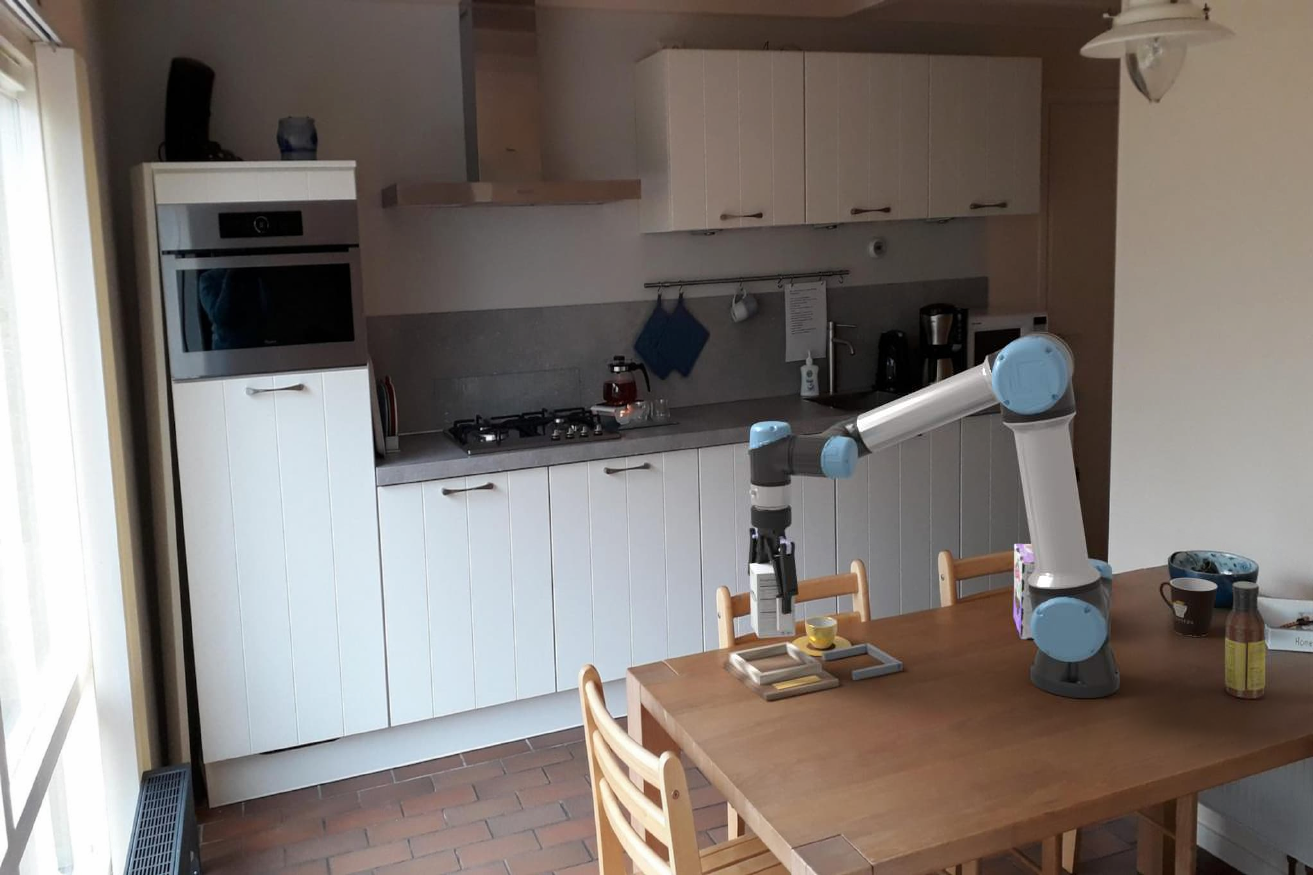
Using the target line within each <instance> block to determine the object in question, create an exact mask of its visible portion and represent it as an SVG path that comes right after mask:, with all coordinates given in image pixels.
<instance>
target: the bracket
mask: <svg viewBox="0 0 1313 875" xmlns="http://www.w3.org/2000/svg"><path fill="white" fill-rule="evenodd" d="M834 649H835V648H834ZM862 654H868V655H869V656H871V657H873V658H875V659H877V660H878V661H880V662H882V663H883V664H879V665H874V666H869V667H864V668H859V669H855V670H851V679H852V680H854V681H858V680H862V679H867V678H873V677H878V676H882V675H883V676H884V675H887V674H891V673H898V672H901V671H903V669H904V668H903V662H902V661H900V660H898V659H896V658H895V657H893V656H891V655H890V654H888V653H886V652H884V651H883V650H881V649H879V648H877V647H876V646H874V645H872V644H870V643H869V642H866V643H862V644H857V645H856V644H855V645H851V646H850V647H845V648H840V649H835V650H833V649H831V650H824V652H822V656H821V660H822V661H824V662H827V661H831V660H832V661H833V660H836V659H840V658H841V659H842V658H846V657H852V656H857V655H862Z"/></svg>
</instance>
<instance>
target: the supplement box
mask: <svg viewBox="0 0 1313 875" xmlns="http://www.w3.org/2000/svg"><path fill="white" fill-rule="evenodd" d="M749 590H750V591H749V593H750V594H749V596H750V598H749V600H750V626H751V627H752V629H753V631H754V632H755V634H756V637H757V638H758V639H767V638H770V639H771V638H785V637H787V638H788V637H794V636H796V598H795V597H796V595H795V596H792V597H791V610H792V629H787V630H782V631H778V630H777V603H776V595H779V592H778V588H777V583H776V578H775V573H774V569H773V564H772V562H771V561H770V562H768V563H762V564H758V563H752V564H750V576H749Z"/></svg>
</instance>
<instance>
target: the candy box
mask: <svg viewBox="0 0 1313 875" xmlns="http://www.w3.org/2000/svg"><path fill="white" fill-rule="evenodd" d="M1013 549H1014V551H1013V556H1014V557H1013V564H1014V565H1013V567H1014V568H1013V575H1014V576H1013V583H1014V584H1013V621H1014V623H1015V625H1016V630H1017V631H1018V635H1019V638H1021V639H1020V640H1027V639H1033V637H1032V634H1031V629H1030V619H1031V616H1032V606H1031V600H1030V593H1029V586H1028V578H1029V577H1030V575H1031V574H1032V573H1033V572H1034V570H1035V564H1034V558H1033V551H1032V545H1031V543H1014V545H1013Z"/></svg>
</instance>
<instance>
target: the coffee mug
mask: <svg viewBox="0 0 1313 875" xmlns="http://www.w3.org/2000/svg"><path fill="white" fill-rule="evenodd" d="M1165 586H1168V587H1170V588H1169V590H1170V600H1171V602H1169V600H1168V599H1167V598H1166V596H1165V594H1164V590H1163V589H1164V587H1165ZM1217 591H1218V585H1217V584H1216V583H1215V582H1214V581H1210V580H1208V579H1207V580H1206V579H1202V578H1195V577H1180V578H1179V577H1178V578H1174V579H1171V580H1170V581H1164V582H1161V583H1160V585H1159V594H1160V596H1161V598H1162V600H1163V601H1164V602H1165V604H1166V605H1167V606H1168V607H1169V608H1170V610H1171V611H1172V621H1173V622H1172V623H1173V624H1172V625H1173V631H1174V630H1175V631H1176V632H1178V633H1181V634H1183V635H1192V636H1194V635H1195V636H1202V635H1207V634H1208V633H1209V634H1210V629H1211V625H1212V619H1213V613H1214V608H1215V604H1216V603H1215V601H1216V596H1217ZM1175 631H1174V632H1175ZM1176 632H1175V633H1176ZM1183 635H1182V636H1183Z"/></svg>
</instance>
